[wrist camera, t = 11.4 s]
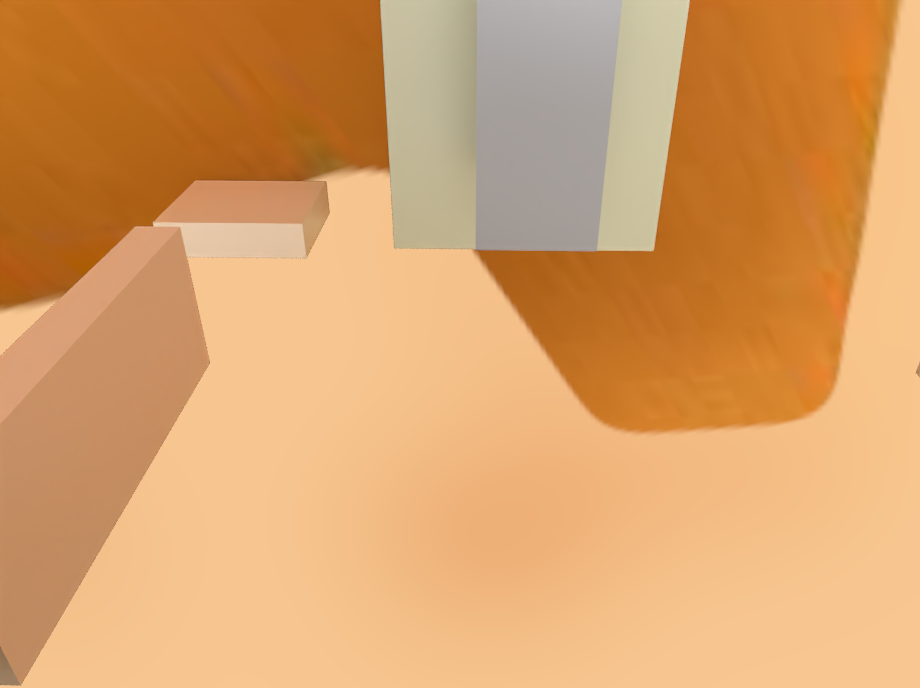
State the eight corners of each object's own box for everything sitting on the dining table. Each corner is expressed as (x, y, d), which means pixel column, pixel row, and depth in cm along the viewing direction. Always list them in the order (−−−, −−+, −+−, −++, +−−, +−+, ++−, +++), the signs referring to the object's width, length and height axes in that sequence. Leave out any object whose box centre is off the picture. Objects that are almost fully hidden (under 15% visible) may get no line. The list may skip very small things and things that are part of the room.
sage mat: (395, 243, 35) (394, 248, 34) (372, -169, 26) (370, -170, 26) (651, 245, 34) (653, 251, 34) (710, -171, 26) (714, -173, 26)
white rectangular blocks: (201, 211, 34) (160, 256, 30) (136, -118, 28) (71, -119, 23) (329, 212, 34) (306, 258, 30) (295, -119, 27) (259, -120, 23)
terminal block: (479, 164, 32) (475, 249, 24) (481, -43, 28) (477, -18, 20) (571, 164, 32) (596, 251, 24) (587, -44, 28) (624, -18, 20)
